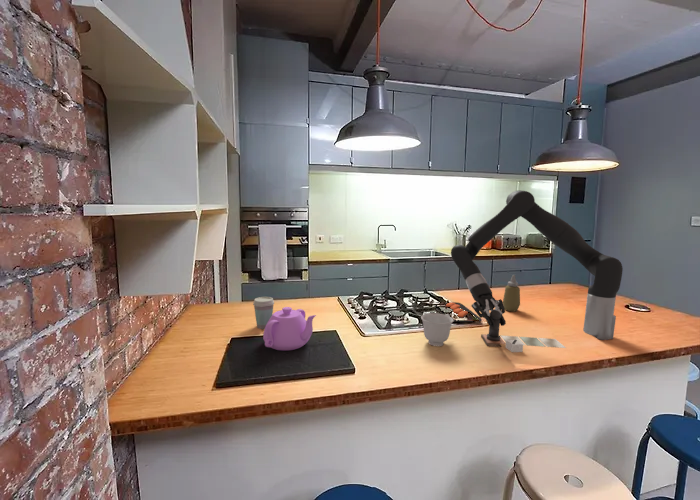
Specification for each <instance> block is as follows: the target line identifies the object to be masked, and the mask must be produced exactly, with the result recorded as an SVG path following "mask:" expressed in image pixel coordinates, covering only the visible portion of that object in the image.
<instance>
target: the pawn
mask: <svg viewBox="0 0 700 500" xmlns="http://www.w3.org/2000/svg"><path fill="white" fill-rule="evenodd" d="M489 312H490V316H491V317H492V319H493V321H494V323H495V326H494V327H490V326H489V325H488V326H489V327H488V333H487V334H486V335H487V339H488V340H491V341H500V337H501V336H500V327H501V325H500V318H501V314H500V312H499V311H497V310H492V311H489Z"/></svg>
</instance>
